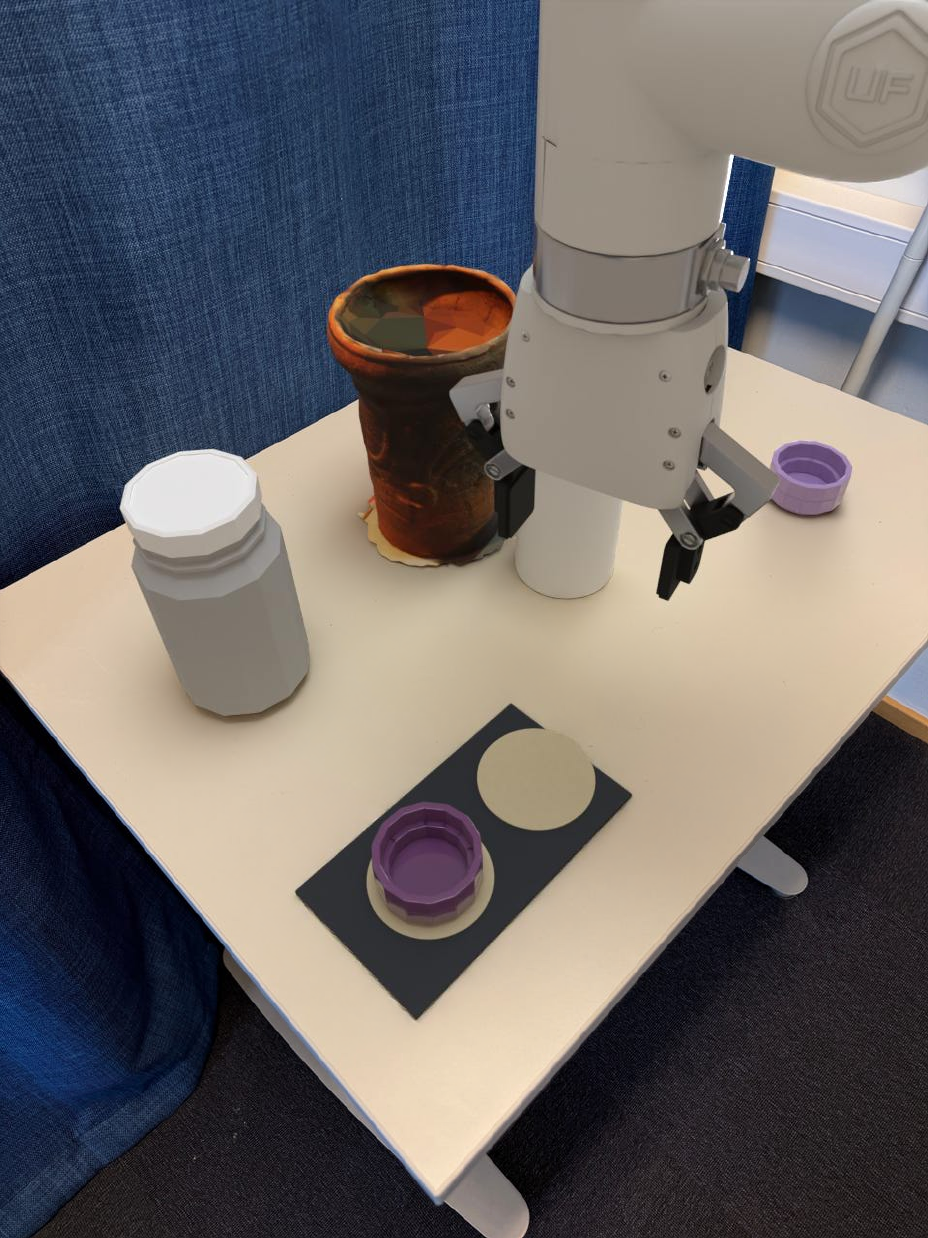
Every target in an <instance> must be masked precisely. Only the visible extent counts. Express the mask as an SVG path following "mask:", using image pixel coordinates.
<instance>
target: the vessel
mask: <svg viewBox="0 0 928 1238" xmlns="http://www.w3.org/2000/svg"><path fill="white" fill-rule="evenodd" d="M516 297H517V294H516V293H515V292H514V291H513V290H512V289H511V288H510V286H509V285H508V284H507V283H506V282H505V281H503V280H502V279H501V278H499V277H498V275H495V274H491V273H489V272H486V271H485V270H481V269H475V268H469V267H463V266H459V265H454V264H430V263H422V264H410V265H400V266H394V267H390V268H385V269H384V268H383V269H381V270H380V271H378V272H376V273H373V274H366V275H365V276H363V277H360V278H359V279H358V280H356V281H355V282H353V284H351V285H350V286H349V287H348V288H347V289H346V290H344V291H343V292H341V293H340V294H338V295H337V296H336V297H335V298H334V301H333V303H332V304H331V307H330V309H329V310H328V316H327V318H328V319H327V326H326V336H327V341H328V344H329V348H330V350H331V353H332V355H333V357H334V359H335V360H336V361H337V363H338V364H339V366H340V367H342V369H344V370H345V372H346V373H347V374H349V375H350V379H351V381H352V384H353V387H354V388H355V390H356V391H357V394H358V420H359V423H360V430H361V435H362V440H363V444H364V447H365V451H366V457H367V463H368V464H367V465H368V471H369V477H370V481H371V483H372V487H373V488H372V489H373V495H372V496H371V497H370V498H369V499H368V501H367V504H369V505H370V506H369V508H368V509H367V510H366V511H365V512H361V511H358V513H357V516H359V517H360V518H361V519H362V521H364V522H365V523H366V524H367V540H368V541H369V542H371V543H374V544H375V545H376V550H377V551H378V552H379V555H381V556H383V557H384V558H387V560H389V561H390V562H401V563H403V564H406V565H407V566H417V567H425V566H434V567H437V566H439V565H442V564H444V563H445V564H447V565H449V564H450V563H451V562H453V563H455V564H458V565H461V566H462V565H464V564H467V563H468V562H471V561H474V560H479V559H483V558H484V555H485V554H487V555H488V554H491V553H493V552H494V551H496V550H502V546H503V542H504V540H505V539H504V538H502V537H499V536H498V513H496V512H495V511H494V480H493V479H491V478H490V477H488V476H487V474H486V473H485V470H484V465H485V464H486V461H485V460H484V459H483V457H482V456H481V455H480V454H479V452H478V451H477V450H476V449H475V447H474V446H473V445H472V444H471V442H470V441H469V440H468V439H467V437H466V435H465V427H466V425H465V423H464V422H462V421H461V419H460V417H459V415H458V413H457V410H456V408H455V406H454V404H453V402H452V400H451V398H450V395H449V392H450V390H451V389H452V388H453V387H454V386H455V385H456V384H457V383H458V382H459V381H460V380H461V379H462V378H464V377H466V376H471V375H476V374H480V373H485V372H490V371H494V370H499V369H503V368H504V361H505V353H506V346H507V340H508V334H509V329H510V324H511V319H512V314H513V310H514V306H515V301H516ZM488 404H489V406H490V408H489V410H491V411H492V412H494V413H495V414H496V415H497V417H498V418H499V419H500V410H501V401H499V402H494V403H488Z"/></svg>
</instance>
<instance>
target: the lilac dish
mask: <svg viewBox="0 0 928 1238" xmlns="http://www.w3.org/2000/svg"><path fill="white" fill-rule="evenodd" d="M768 468H769V469H770V470H771V471H772V472H774V473H775V474H776V475H777V476H778V478H779V485H778V487H777V489H776V490H775V492H774V494H773V496H772V498H771V499H770V500H772V501H773V502H774V503H775V504H776V505H777V506H778V507H780V508H782V509H784V510H785V511H787V512H790V513H793V514H795V515H802V516H816V515H817V516H818V515H821V514H825V513H828V512H831V511H833V510H834V509H836V508H837V507H838V506H839V505H841V503H842V502H843V500H844V499H843V498H844V497H845V494H846V491H847V488H848V486H849V483H850V480H851V478H852V471H853V466H852V464H851V462H850V460H849V459H848V457H847V455H845V454H844V453H843V452H841V451H840V450H838V449H837V448H835V447H834V446H832V445H828V444H825V443H823V442H819V441H815V440H804V439H803V440H801V439H797V440H794V441H790V442H786V443H783V444H782V445H780V446H779V447H778V448H776V449H775V450H774V451H773V453H772V457H771V461H770V464H769V467H768Z"/></svg>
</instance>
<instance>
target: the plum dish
mask: <svg viewBox="0 0 928 1238" xmlns="http://www.w3.org/2000/svg"><path fill="white" fill-rule="evenodd" d="M372 869H373V873H374V877H375V882H376V887H377V890H378V892H379V894H380V895H381V897H382V899H383V901H384V903H385V904H386V906H387V908H388V909H389V910H391V911H392V912H394V913H395V914H397V915H398V916H400V917H401V918H403V919H404V920H406V921H408V922H414V923H422V924H430V925H432V924H433V925H434V924H437V923H440V922H444V921H447V920H450V919H453V918H456V917H457V916H459V915H460V914H461V913H462V912H463V911H464V910H465V909H466V908H467V907H468V906H469V905H471V904H472V903H473V902H474V900H475V899H476V896H477V894H478V891H479V889H480V886H481V883H482V881H483V854H482V844H481V836H480V833H479V832H478V830H477V829H476V827H475V826H474V824H473V823H472V822H471V820H470V819H469V817H468V816H467V815H465V814H464V813H462V812H460V811H458V810H457V809H455V808H453V807H451V806H450V805H447V804H441V803H432V802H421V803H417V804H414V805H410V806H407V807H404V808H401V809H399V810H398V811H397V812H395V813H394V814H393V815H392V816H391V817H389V818H388V819H387V820H386V821H384V822H383V823H382V824H381V826H380V829H379V831H378V833H377V835H376V837H375V839H374V841H373V843H372Z"/></svg>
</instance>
